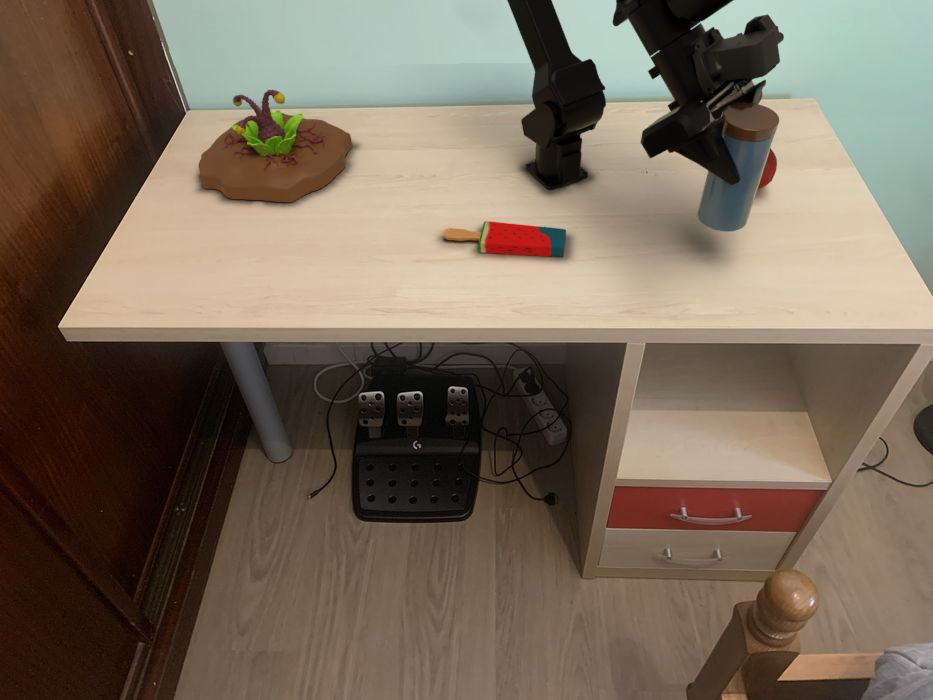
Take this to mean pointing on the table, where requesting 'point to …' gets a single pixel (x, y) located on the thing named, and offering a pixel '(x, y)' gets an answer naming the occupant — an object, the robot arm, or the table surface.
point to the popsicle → (514, 239)
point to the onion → (768, 170)
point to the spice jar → (739, 166)
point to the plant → (274, 155)
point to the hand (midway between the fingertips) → (748, 171)
